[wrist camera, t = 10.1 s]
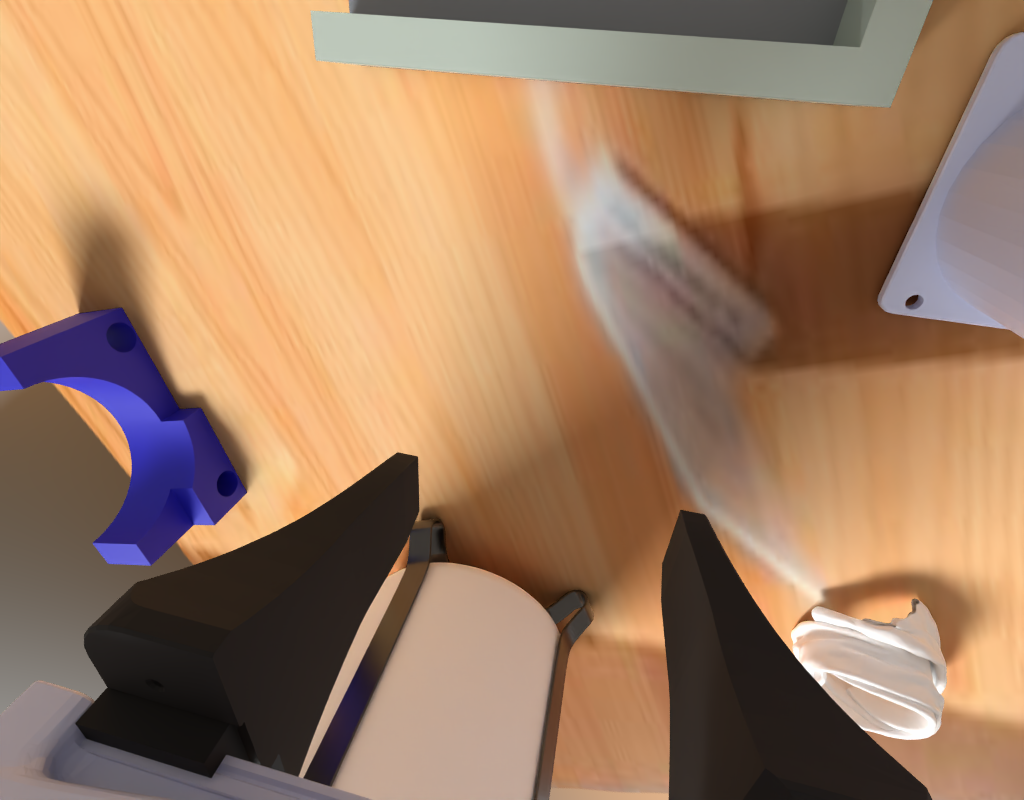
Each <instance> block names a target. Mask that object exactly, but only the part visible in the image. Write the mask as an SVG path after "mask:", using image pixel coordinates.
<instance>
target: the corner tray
mask: <svg viewBox="0 0 1024 800" xmlns="http://www.w3.org/2000/svg"><path fill="white" fill-rule="evenodd" d="M932 2H933V0H349V9H350V13H338V12H323V11H311V18H312V28H313V37H314V46H315V56H316V60H317V61H326V62H335V63H344V64H353V65H362V66H374V67H386V68H399V69H411V70H423V71H435V72H447V73H459V74H471V75H483V76H495V77H508V78H520V79H532V80H544V81H556V82H568V83H580V84H592V85H604V86H617V87H629V88H641V89H653V90H665V91H677V92H689V93H701V94H713V95H725V96H738V97H750V98H762V99H774V100H786V101H798V102H810V103H822V104H834V105H847V106H866V107H889V108H890V107H891V105H892V102H893V100H894V97H895V95H896V92H897V90H898V87H899V85H900V82H901V80H902V77H903V75H904V72H905V70H906V67H907V65H908V62H909V60H910V57H911V55H912V52H913V50H914V47H915V45H916V42H917V40H918V37H919V35H920V32H921V30H922V27H923V25H924V22H925V20H926V17H927V15H928V12H929V10H930V7H931V5H932Z"/></svg>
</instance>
